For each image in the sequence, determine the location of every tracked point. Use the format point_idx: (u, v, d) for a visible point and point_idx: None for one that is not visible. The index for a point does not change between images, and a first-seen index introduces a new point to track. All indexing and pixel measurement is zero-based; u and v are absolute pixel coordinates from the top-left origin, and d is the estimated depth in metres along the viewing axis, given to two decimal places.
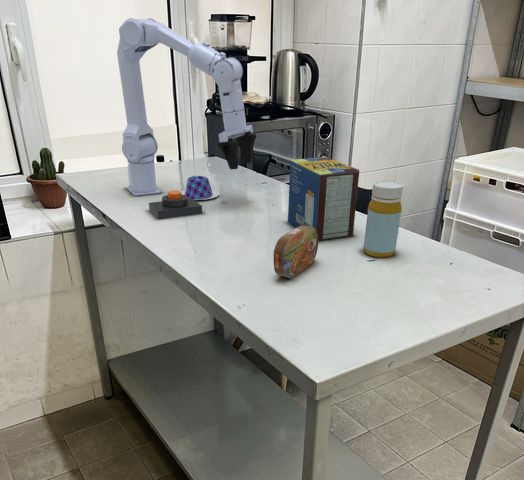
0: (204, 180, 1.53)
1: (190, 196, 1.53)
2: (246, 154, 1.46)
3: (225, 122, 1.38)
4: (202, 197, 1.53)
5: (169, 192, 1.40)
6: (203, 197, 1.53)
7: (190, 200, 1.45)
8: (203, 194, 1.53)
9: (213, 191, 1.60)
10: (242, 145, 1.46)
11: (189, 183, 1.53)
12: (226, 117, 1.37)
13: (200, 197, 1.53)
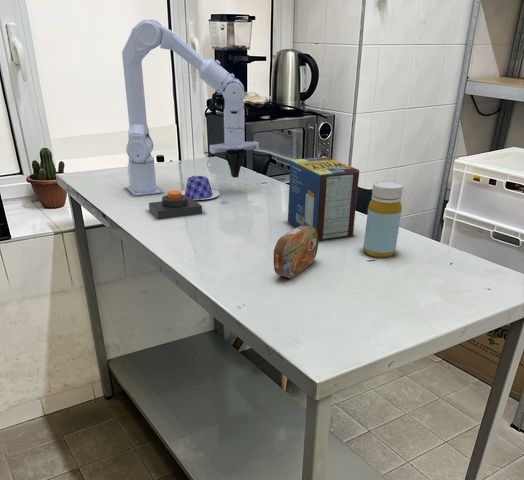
0: (204, 180, 1.53)
1: (190, 196, 1.53)
2: None
3: (224, 135, 1.53)
4: (202, 197, 1.53)
5: (169, 192, 1.40)
6: (203, 197, 1.53)
7: (190, 200, 1.45)
8: (203, 194, 1.53)
9: (213, 191, 1.60)
10: None
11: (189, 183, 1.53)
12: (224, 131, 1.51)
13: (200, 197, 1.53)
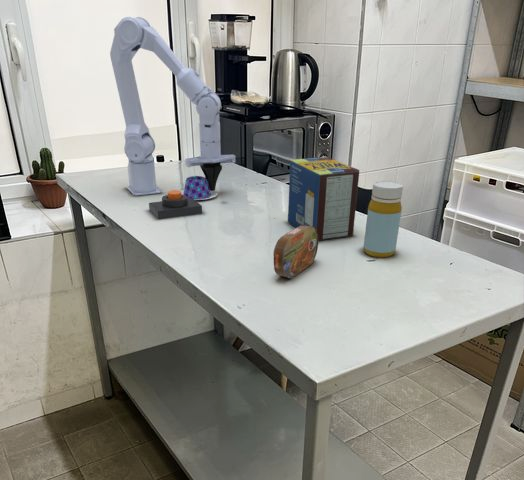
0: (202, 180, 1.52)
1: (188, 196, 1.53)
2: None
3: (200, 149, 1.52)
4: (200, 197, 1.53)
5: (169, 192, 1.40)
6: (201, 197, 1.53)
7: (190, 200, 1.45)
8: (201, 194, 1.53)
9: (211, 191, 1.59)
10: None
11: (187, 183, 1.52)
12: (200, 145, 1.50)
13: (198, 197, 1.53)
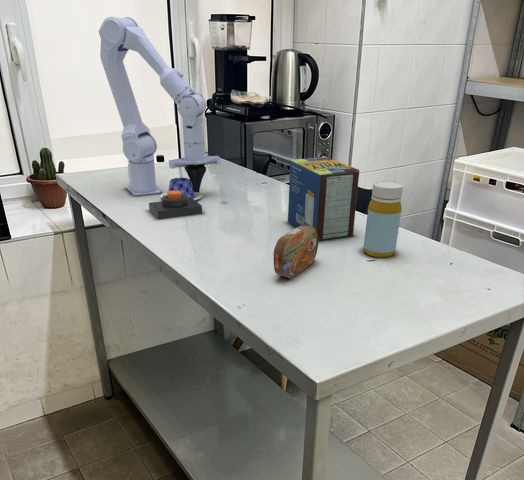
0: (186, 182, 1.50)
1: None
2: None
3: (184, 150, 1.50)
4: None
5: (169, 192, 1.40)
6: None
7: (190, 200, 1.45)
8: None
9: (196, 193, 1.57)
10: None
11: (171, 185, 1.51)
12: (184, 146, 1.48)
13: None
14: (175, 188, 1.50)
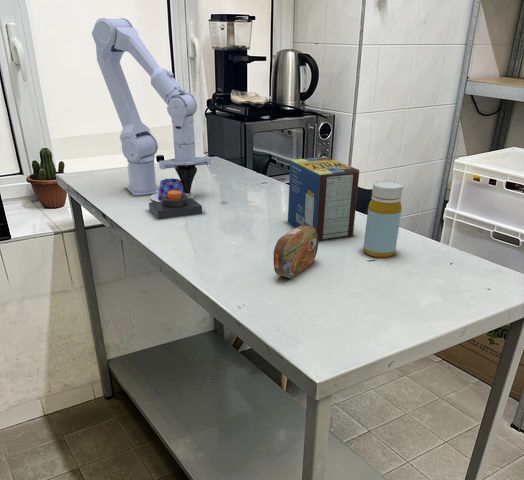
0: (177, 183, 1.49)
1: None
2: None
3: None
4: None
5: (169, 192, 1.40)
6: None
7: (190, 200, 1.45)
8: None
9: (187, 194, 1.56)
10: None
11: (161, 186, 1.50)
12: (174, 147, 1.47)
13: None
14: (165, 189, 1.49)
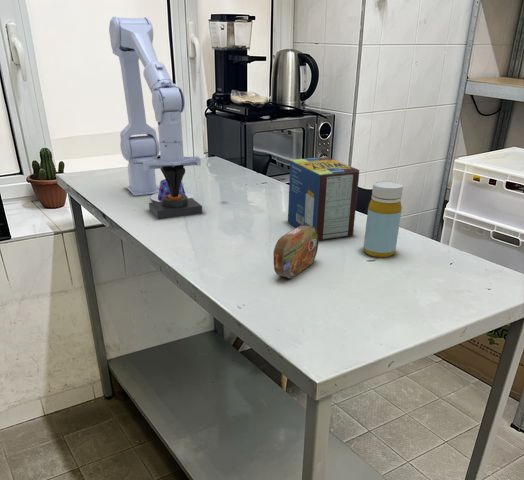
0: None
1: None
2: None
3: None
4: None
5: (169, 196, 1.41)
6: None
7: (190, 200, 1.45)
8: None
9: (187, 194, 1.56)
10: None
11: (161, 186, 1.50)
12: None
13: None
14: (165, 189, 1.49)
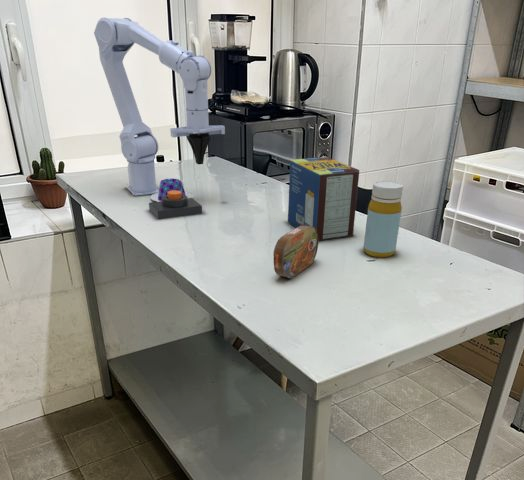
0: (177, 183, 1.49)
1: None
2: None
3: None
4: None
5: (169, 192, 1.40)
6: None
7: (190, 200, 1.45)
8: None
9: (187, 194, 1.56)
10: None
11: (161, 186, 1.50)
12: (186, 113, 1.39)
13: None
14: (165, 189, 1.49)
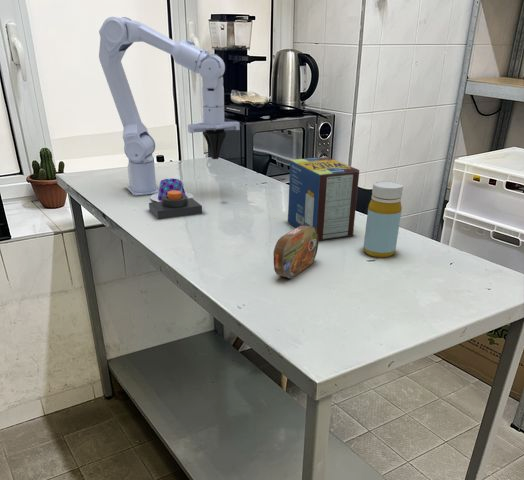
0: (177, 183, 1.49)
1: None
2: None
3: (203, 114, 1.46)
4: None
5: (169, 192, 1.40)
6: None
7: (190, 200, 1.45)
8: None
9: (187, 194, 1.56)
10: None
11: (161, 186, 1.50)
12: (203, 110, 1.45)
13: None
14: (165, 189, 1.49)
